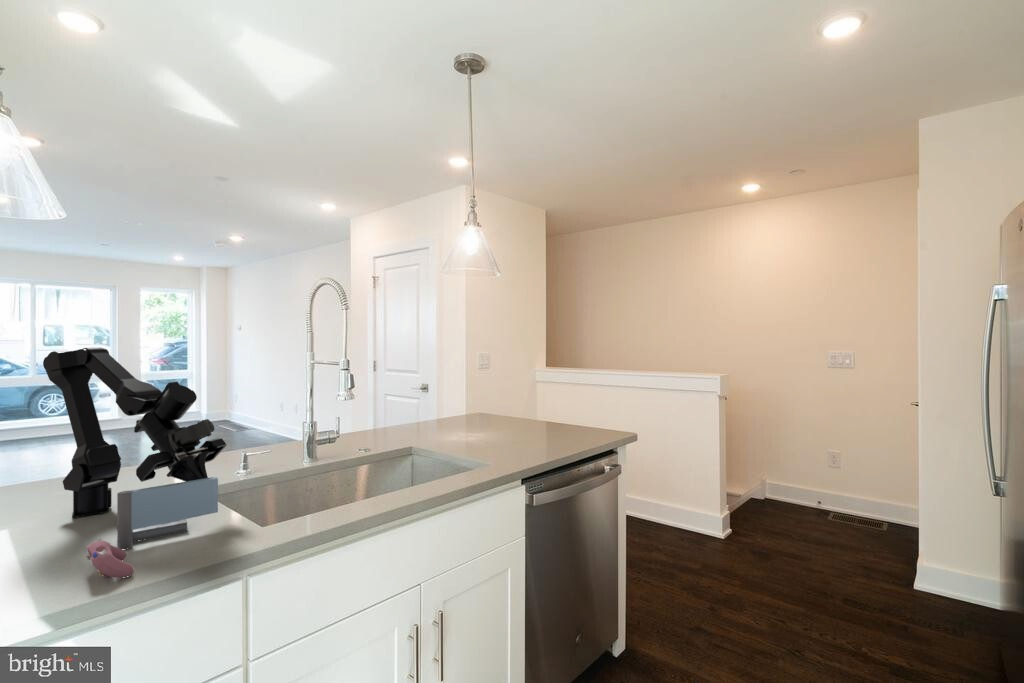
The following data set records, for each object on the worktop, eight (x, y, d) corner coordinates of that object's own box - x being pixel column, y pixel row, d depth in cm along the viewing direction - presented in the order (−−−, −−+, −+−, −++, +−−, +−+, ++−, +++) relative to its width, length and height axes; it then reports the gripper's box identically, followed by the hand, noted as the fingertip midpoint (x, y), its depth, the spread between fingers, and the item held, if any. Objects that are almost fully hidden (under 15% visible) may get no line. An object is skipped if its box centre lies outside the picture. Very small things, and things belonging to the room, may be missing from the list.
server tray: (121, 544, 100) (122, 533, 100) (123, 517, 114) (123, 508, 114) (187, 531, 107) (187, 521, 107) (180, 507, 121) (180, 498, 121)
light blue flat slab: (117, 551, 97) (118, 495, 97) (116, 547, 99) (116, 492, 98) (218, 528, 109) (218, 478, 108) (215, 525, 110) (215, 476, 110)
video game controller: (100, 573, 91) (77, 544, 89) (127, 555, 94) (106, 527, 92) (107, 593, 84) (83, 562, 82) (137, 573, 87) (114, 543, 85)
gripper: (147, 416, 101) (192, 474, 99) (220, 404, 119) (259, 453, 117) (116, 452, 103) (159, 510, 100) (192, 434, 121) (230, 483, 119)
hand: (206, 487), depth 109 cm, fingers closed
